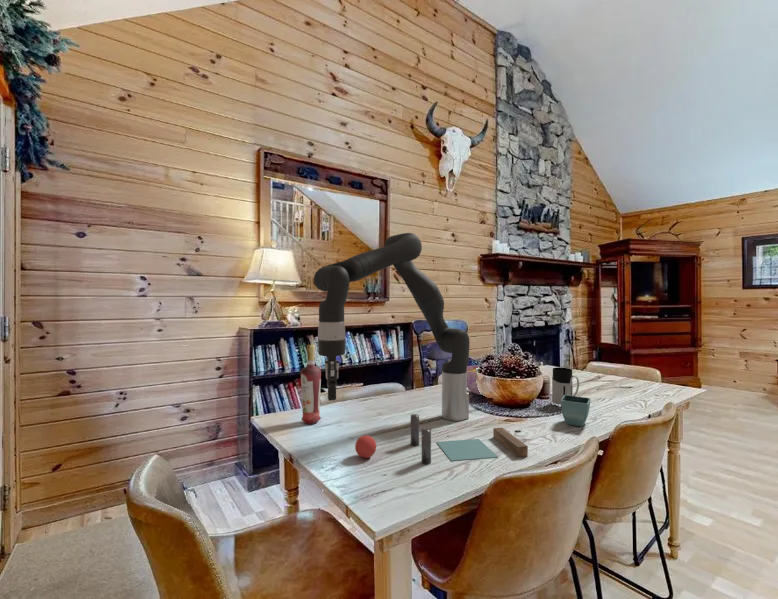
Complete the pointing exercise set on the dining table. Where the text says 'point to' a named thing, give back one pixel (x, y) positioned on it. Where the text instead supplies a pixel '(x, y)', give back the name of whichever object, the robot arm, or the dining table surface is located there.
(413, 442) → the post far
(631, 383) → the dining table surface
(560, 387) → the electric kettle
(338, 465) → the dining table surface
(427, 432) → the post near
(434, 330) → the robot arm
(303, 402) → the red condiment bottle
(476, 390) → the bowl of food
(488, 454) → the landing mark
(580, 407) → the flower pot
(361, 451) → the ball
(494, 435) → the wall
